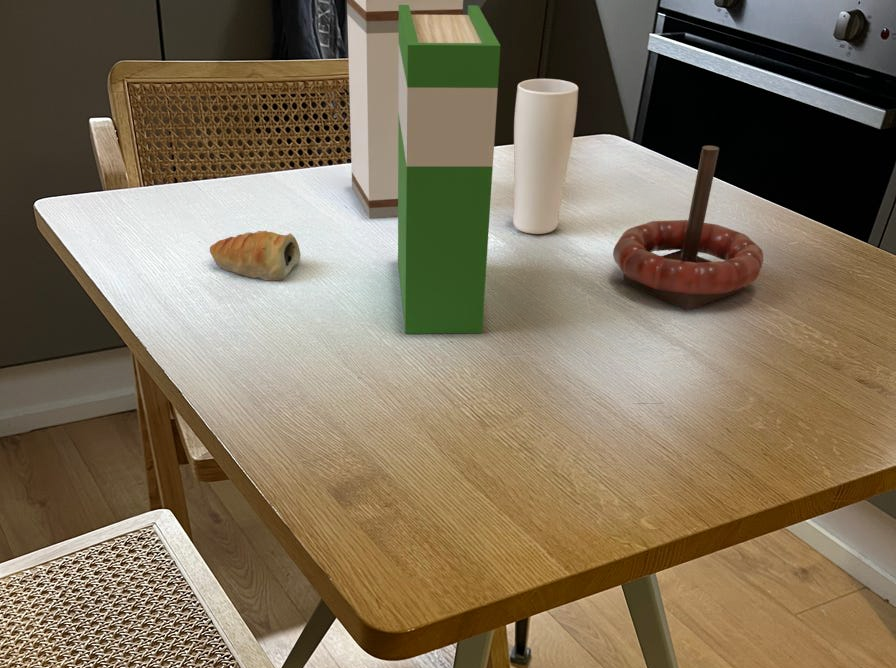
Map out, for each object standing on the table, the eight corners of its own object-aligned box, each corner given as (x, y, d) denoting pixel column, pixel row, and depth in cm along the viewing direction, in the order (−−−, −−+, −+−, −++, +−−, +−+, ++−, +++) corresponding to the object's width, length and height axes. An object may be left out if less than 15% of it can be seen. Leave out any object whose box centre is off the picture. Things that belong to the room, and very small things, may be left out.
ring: (787, 275, 101) (795, 246, 99) (695, 311, 94) (702, 281, 92) (675, 234, 110) (680, 207, 108) (583, 264, 102) (587, 235, 100)
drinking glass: (554, 216, 118) (569, 77, 108) (570, 236, 113) (587, 92, 103) (500, 219, 117) (510, 79, 107) (514, 239, 112) (525, 94, 102)
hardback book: (397, 263, 106) (398, 4, 90) (465, 263, 106) (478, 5, 90) (405, 333, 93) (407, 45, 77) (482, 333, 93) (500, 45, 77)
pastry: (201, 273, 103) (196, 236, 101) (227, 251, 108) (223, 216, 105) (283, 283, 101) (280, 246, 99) (306, 261, 106) (304, 225, 104)
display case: (454, 212, 118) (469, -157, 95) (369, 218, 116) (363, -158, 93) (432, 183, 127) (440, -164, 103) (352, 188, 125) (342, -164, 101)
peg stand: (744, 289, 102) (778, 151, 93) (687, 310, 98) (717, 167, 89) (678, 263, 107) (704, 129, 98) (622, 281, 103) (644, 144, 94)
